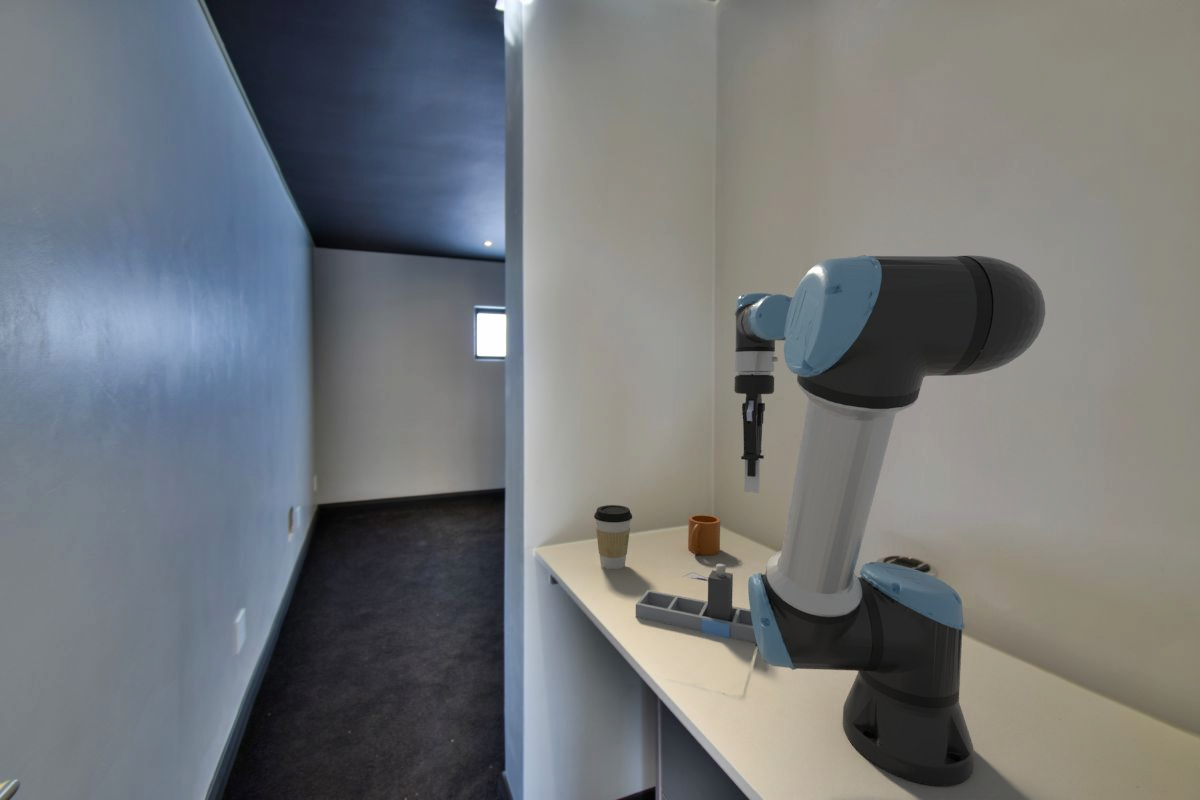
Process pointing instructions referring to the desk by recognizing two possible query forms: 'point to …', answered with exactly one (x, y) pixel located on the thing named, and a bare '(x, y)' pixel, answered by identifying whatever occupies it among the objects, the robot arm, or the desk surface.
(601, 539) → the coffee cup
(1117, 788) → the desk surface
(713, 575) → the grey block with peg
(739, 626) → the compartment organizer tray
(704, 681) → the desk surface
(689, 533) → the mug
